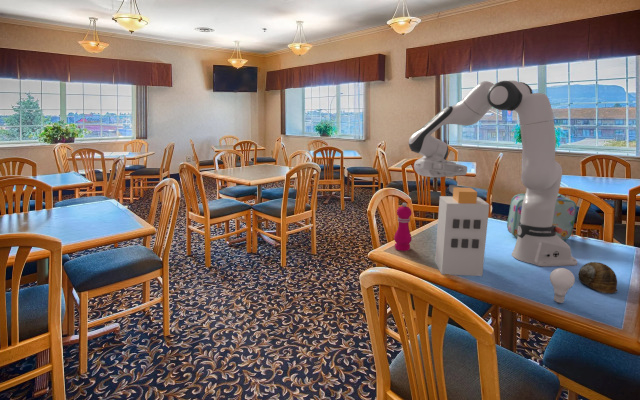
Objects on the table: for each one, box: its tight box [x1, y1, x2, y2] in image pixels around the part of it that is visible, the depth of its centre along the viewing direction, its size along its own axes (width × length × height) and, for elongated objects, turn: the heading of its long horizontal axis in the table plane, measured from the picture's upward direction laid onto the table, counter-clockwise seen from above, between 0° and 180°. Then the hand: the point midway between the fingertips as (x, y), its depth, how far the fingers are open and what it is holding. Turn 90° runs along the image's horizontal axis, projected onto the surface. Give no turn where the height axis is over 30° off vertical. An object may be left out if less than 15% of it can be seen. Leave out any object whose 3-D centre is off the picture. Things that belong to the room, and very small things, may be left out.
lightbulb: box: [549, 267, 576, 304], centre depth 116 cm, size 6×6×11 cm
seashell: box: [577, 261, 618, 294], centre depth 127 cm, size 11×9×8 cm
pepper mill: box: [393, 202, 412, 252], centre depth 161 cm, size 7×7×20 cm
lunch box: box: [506, 192, 577, 242], centre depth 175 cm, size 27×10×21 cm, turn 85°
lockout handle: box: [448, 184, 478, 204], centre depth 142 cm, size 6×22×4 cm, turn 174°
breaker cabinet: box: [434, 195, 490, 277], centre depth 139 cm, size 14×13×26 cm
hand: (452, 168), depth 157 cm, fingers open, 8 cm apart
